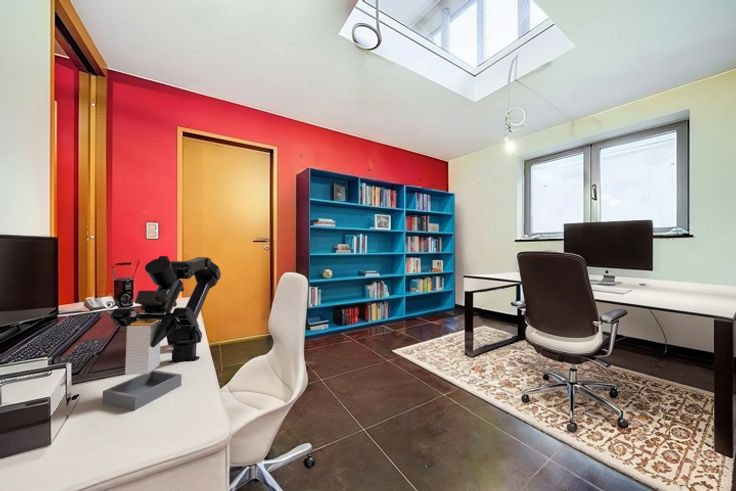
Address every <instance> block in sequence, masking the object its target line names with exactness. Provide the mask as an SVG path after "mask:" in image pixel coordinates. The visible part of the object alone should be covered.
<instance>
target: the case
mask: <svg viewBox="0 0 736 491" xmlns="http://www.w3.org/2000/svg"><path fill="white" fill-rule="evenodd" d="M182 376H183V375H182V374H180V373H175V372H169V371H164V370H163V371H162V370H158V369H154V370H152V371H151V372H150V373H148V374H138V375H137V376H135V377H133V378H130V379H127V380H125V381H123V382H121V383H119V384H116V385H114V386H111V387H110V388H106V389H104V390H102V399H101V400H102V401H101V402H102V405H107V406H111V407H116V408H121V409H124V410H130V411H137V410H138V409H141V408H142V407H145V406H146V405H148V404H150V403H152V402H153V401H155V400H157V399H159V398H161V397H163V396H165V395H167V394H168V393H170V392H172V391H174V390H176V389H177V388H179V387H182Z"/></svg>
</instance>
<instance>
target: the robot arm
mask: <svg viewBox="0 0 736 491" xmlns="http://www.w3.org/2000/svg"><path fill="white" fill-rule="evenodd" d="M144 270H145V272H146V274H147V275H148V276H149V278H150V280H151V281H152V283H153V284H154V285H156V286H157V287H156V290H138V291H137V294H136V298H135V301H134V304H137V305H141V306H140V309H141V310H142V311H144V312H138V311H135V309H134V308H133V307H116V308H115V309H113V310H112V311H111V313H110V314H109V318H110V319H111V320H112V321H113V322H114V323H115V324H116V325H117V326H118V327H121V328H127V326H129V325H131V323H133V322H135V321H137V320H140V319H158V321H159V320H161V325H160V327H159V329H158V331H157V333H156V335H155V337H154V339H153V341H152V344H151V346H152V347H155V346H156V345H157V344H158V343H159V342H160V343H161V342H162V341H163V340H164V339H165V338H166V343H167V345H168V346H169V345H173V348H172V350H171V360H168V364H169V363H176V364H179V363H188V362H190V363H191V362H194V361H196V360H198V359H200V356H199V355H197V344H199V343H202V339H203V332H202V331H201V328H200V326H199V322H198V317H199V314H200V312H201V311H202V308H203V305H204V303H205V300H206V298H207V295H208V294H209V291H210V289H211V288H213V287H215V286H216V285H218V284H217V283H218V282H219V280H220V279H221V276H222V273H221V269H220V267H219V265H217V264H215V263H214V262H213V261H212V259H211V258H210V257H206V256H205V257H203V256H198V257H195V258H192V259H188V260H184V261H183V260H177V261H176V260H170V258H169V256H167V255H159V257H158V258H156V259H153V260H151V261H149V262H148V263H146V264H145V266H144ZM192 277H194V278H195V282H196V284H195V287H194V288H193V290H192V294H191V295H190V297H189V299H188V301H187V304H186V305H185V307H177V305H178V302H177V300H178V298H179V295H180V293H182V292H184V291H185V286H184V283H183V280H190V279H191V278H192Z"/></svg>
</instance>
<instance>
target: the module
mask: <svg viewBox="0 0 736 491" xmlns="http://www.w3.org/2000/svg"><path fill="white" fill-rule="evenodd" d="M160 325H161V320H158V319H140V320H137V321H135V322H133V323H131V325H129V326H127V327H126V346H125V349H126V350H125V368H124V369H125V372H124V374H125V375H127V376H129V375H142V374H148V373H150V372H151V371H152V370H156V369H157V368H158V367H159V366H160V359H161V358H160V357H161V342H159V343H158V344H157V345H156V346H155V347H152V346H151V344H152V341H153V339H154V337H155V335H156V333H157V331H158V329H159V327H160Z"/></svg>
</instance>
